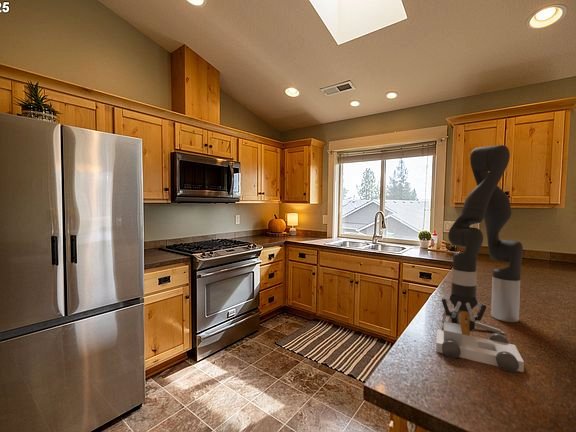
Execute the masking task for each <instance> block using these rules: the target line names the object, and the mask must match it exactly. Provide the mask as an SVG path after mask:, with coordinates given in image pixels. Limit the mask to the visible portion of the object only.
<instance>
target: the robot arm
mask: <svg viewBox="0 0 576 432" xmlns="http://www.w3.org/2000/svg"><path fill="white" fill-rule="evenodd" d="M510 155H511V153H510V150H509V147H508V146H507V145H503V144H499V145H498V144H497V145H487V146H481V147H475V148H474V149H472V150H471V152H470V157H469V163H470V168H471V171H472V175H473V177H474V181H475V183H476V187H475V188H473V190H472V191H470V192H469V194H468V195H467V197H466V199H465V200H464V202H463V203H464V204H463V206H462V209H461V212H460V214H459V215H458V217H457V219H456V220H455V221H454V223H453V224H452V225H451V227H450V229H449V230H448V235H447V238H448V241H449V243H450V244H452V245H453V246H458V247H465V250H464V251H462V252H461V251H460V252H456V253H454V254H453V257H452V271H451V285H450V286H451V288H450V289H451V291H450V292H451V293H450V296H449V297H443V296H442V297H441V302H442V305H443V308H444V309H443V310H444V311H445V312H446V315H449V316H451V323H456V314H457V312H458V310H464V311H468V313H469V316H470V332H473V331H474V330H475V327H476V326H475V322H479V321H481V320H482V318H483V316H484V314H485V312H486V310H487V305H486V303H484V302H479V301H478V299H477V283H478V279H477V278H478V277H477V259H478V257H479V252H480V250H481V247H482V245H483V242H484V234H483V232H482V231H481V230H480V229H479V228H477V227H471V226H473V225H475V224H481V223H483V221H484V225H485V230H486V237H487V240H486V241H487V249H488V254H489V257H490V259H491V260H493V261H497V262H504V263H508V266H506V267H501V268H495V269H493V270H492V275H491V276H492V278H491V280H492V281H491V306H490V307H491V310H490V316H491V317H492V318H494V319H496V320H499V321H503V322H506V323H507V322H508V323H518V322H519V320H520V319H519V318H520V300H521V299H520V297H521V296H520V295H521V275H522V273H521V272H522V265H523V264H522V262H523V257H524V256H523V255H524V247H523V243H522V242H521V241H518V240H508V239H500V237H499V234H500V232H501V230H502V229H503V228H504V226H505V225H506V224H507V223H508V222H509V220H510V218H511V216H512V208H511V207H512V206H511V201H510V197H509V196H508V195H507V194H506V192H505V191H504V190H503V189H502V188H501V187H500V186H498V184H499V183H500V181H501V179H502V177H503V175H504V173H505V172H506V169H507V167H508V165H509V162H510ZM450 303H451V304H452V306H453V308H452V311H449V310H450V309H449V306H448V305H449V304H450ZM476 306H477V309H478V311H477V313H476V314H475V315H474V313H473V309H474V308H475V307H476Z"/></svg>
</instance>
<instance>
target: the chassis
mask: <svg viewBox="0 0 576 432" xmlns="http://www.w3.org/2000/svg"><path fill="white" fill-rule="evenodd" d="M436 352H437V353H440V354H444V356H446V357H447V358H450V359H458V358H462V359H465V360H469V361H470V360H471V361H474V362H479V363H482V364H487V365H490V366H491V365H492V366H495V367H499V368H500V369H501V370H502V371H504V372H506V373H513V372H520V373H524V372H525V371H524V370H525V368H524V367H525V361H524V360H523V357H522V355H521V354H520V352H519V349H518V348H517V346H516V345H515V344H511V343H509V341H508V339H507V338H506V336H505V335H504V334H502V333H501V334H500V333H495V332H492V333H491V334H490V335H489V337H488V338H487V339H486V338H483V337H477V336H473V335H470V336H468V335H463V334H462V330H461V325H460V324H456V323H451V322H448V321H444V323H443V326H442V327H441V329H439V328H438V329H436Z"/></svg>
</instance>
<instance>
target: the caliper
mask: <svg viewBox="0 0 576 432" xmlns="http://www.w3.org/2000/svg"><path fill="white" fill-rule="evenodd" d="M449 311H450V312H452V311H451V309H449ZM447 317H448V319H447V322H451V316H449V315H446V312H445V310H444V311H443V312H442V323H443V324H444V321H445V320H446V318H447ZM445 322H446V321H445ZM475 327H477V328H481V329H484V330H487V331H489V332H492V333H499V334H502V335H506V332H504V331H502V329H499V328H497V327H494V326H490V325H488V324H484V323H481V322H479V321H475Z"/></svg>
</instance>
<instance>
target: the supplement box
mask: <svg viewBox="0 0 576 432" xmlns="http://www.w3.org/2000/svg"><path fill="white" fill-rule="evenodd" d="M456 324H460V325H461V330H462V334H463V335H468V336H471V333H470V332H471V331H470V316H469V313H468V311H464V310H458V312H457V314H456Z"/></svg>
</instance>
